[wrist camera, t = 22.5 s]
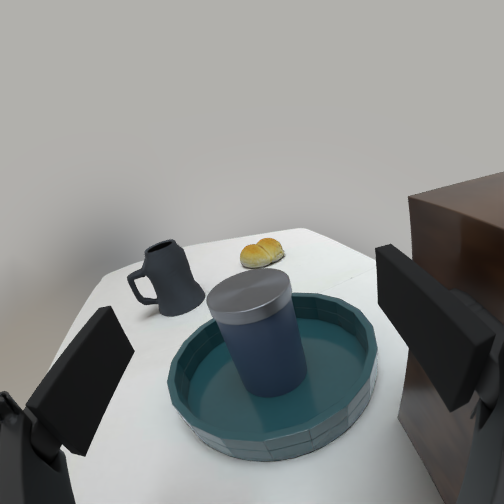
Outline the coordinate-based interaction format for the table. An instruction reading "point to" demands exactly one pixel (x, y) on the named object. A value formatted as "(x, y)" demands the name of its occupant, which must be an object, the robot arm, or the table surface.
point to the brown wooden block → (450, 276)
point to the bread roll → (261, 253)
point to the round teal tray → (285, 406)
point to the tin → (260, 330)
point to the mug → (168, 279)
